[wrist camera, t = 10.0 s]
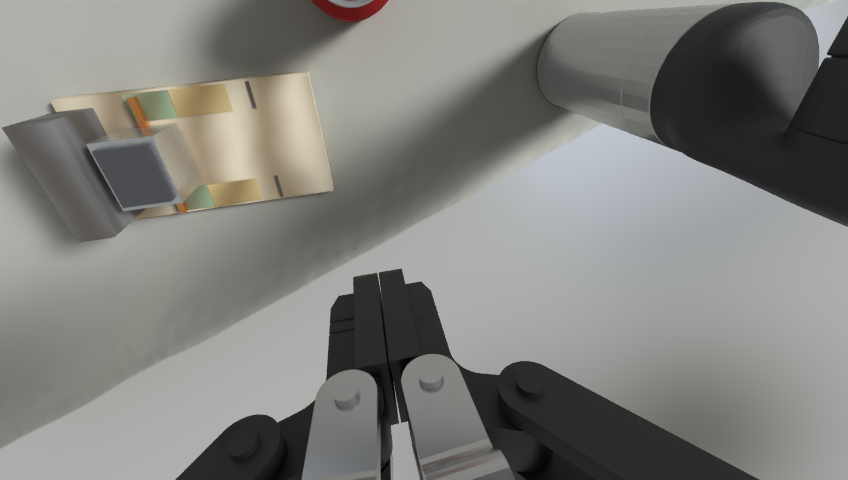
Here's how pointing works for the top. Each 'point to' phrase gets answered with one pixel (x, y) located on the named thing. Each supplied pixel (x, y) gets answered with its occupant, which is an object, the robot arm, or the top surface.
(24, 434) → the top surface
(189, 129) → the board
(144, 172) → the block
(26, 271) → the top surface
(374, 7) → the beverage can
